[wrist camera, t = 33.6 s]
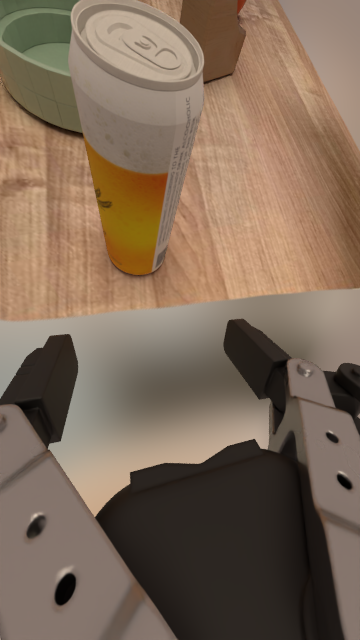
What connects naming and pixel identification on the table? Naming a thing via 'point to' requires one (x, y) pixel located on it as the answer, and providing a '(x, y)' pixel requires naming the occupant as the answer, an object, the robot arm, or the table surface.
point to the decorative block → (215, 34)
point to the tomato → (240, 5)
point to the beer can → (135, 120)
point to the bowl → (39, 58)
